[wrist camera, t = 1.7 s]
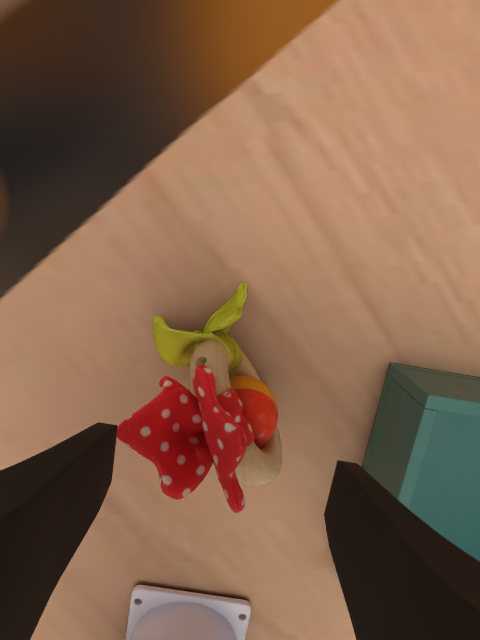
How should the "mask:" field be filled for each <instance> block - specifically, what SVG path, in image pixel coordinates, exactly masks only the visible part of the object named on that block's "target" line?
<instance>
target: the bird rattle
mask: <svg viewBox="0 0 480 640" xmlns="http://www.w3.org/2000/svg"><path fill="white" fill-rule="evenodd" d="M247 290H248V287H247V283H246V282H243V283H241V284H240V285H239V287H238V288H237V291H236V294H234V295H233V296H232V297H231V298H230V299H229V300H228V301H227V302H226V303H225V304H224V305H223V306H222V307H221V308H220V309H218V310H217V311H216V312H215V313H214V314H213V315H212V316H211V317H210V319H209V320H208V322H207V324H206V326H205V328H204V331H203V332H201V331H199V330H196V331H193V332H188V331H181V330H174V329H170V328H169V327H168V326H167V323H166V320H165V318H164V317H162V316H155V317H154V319H153V326H154V332H155V334H154V342H155V348H156V350H157V352H158V354H159V355H160V357H161V358H162V360H164V361H165V362H166V363H168V364H170V365H171V366H172V367H180V366H184V365H188V364H190V391H191V392H190V391H189V390H187V389H186V388H185V387H184V386H183V385H182V384H180V383H179V382H177V381H175V380H174V379H172V378H170V377H167V376H164V377H163V378H162V379H161V380H160V382H159V384H160V386H161V387H162V392H161V393H160V394H159V395H158V396H157V397H156V398H154V399H153V400H151V401H150V402H149V403H148V404H146V405H145V406H143V407H142V408H141V409H139V410H138V411H136V412H135V413H133V414H132V415H130V416H129V417H128V418H127V419H125V420H124V421H123V422H122V423H121V424H120V425H119V426H118V428H117V436H116V437H117V438H118V439H119V440H121V441H122V442H124V443H125V444H126V445H127V446H129V447H130V448H132V449H133V450H135V451H136V452H138V453H139V454H140V455H142V456H143V457H145V458H147V459H148V460H150V461H152V462H153V463H154V465H155V466H156V467H157V470H158V472H159V482H160V485H161V489H162V491H163V493H164V494H165V495H167V496H169V497H171V498H173V499H182V498H184V497H186V496H187V495H189V494H190V493H191V492H192V491H194V490H195V489H196V488H197V486H198V485H199V484H200V483H201V482H202V481H203V479H204V478H205V476H206V475H207V473H208V471H209V470H210V468H211V466H212V464H213V462H214V465H215V468H216V473H217V476H218V479H219V481H220V483H221V485H222V488H223V491H224V494H225V497H226V499H227V502H228V504H229V506H230V508H231V509H232V510H233V511H234V512H235V513H238V512H240V511H242V510H243V508H244V506H245V500H244V495H243V492H242V489H241V488H240V485H239V483H241V484H244V485H246V486H252V487H255V486H261V485H264V484H266V483H268V482H270V481H271V480H273V479H274V478H275V477H276V476H277V475H278V474H279V471H280V468H281V462H282V449H281V441H280V435H279V430H278V426H277V419H278V412H277V404H276V401H275V398H274V396H273V394H272V392H271V391H270V389H269V388H268V387H267V386H266V385H265V384H264V383H263V382H262V381H261V379H260V377H259V375H258V373H257V372H256V370H255V368H254V367H253V365H252V363H251V362H250V360H249V359H248V358H247V356H246V355H245V354H244V352H243V351H242V350H241V348H240V346H239V345H238V343H237V342H236V341H235V340H234V338H232V337H231V336H229V335H226V333H227V332H228V331H229V330H230V329H231V327H232V324H234V323H235V322H236V321H238V320H239V319H240V317H241V315H242V311H241V310H242V307H243V304H244V302H245V300H246V295H247ZM238 482H239V483H238Z"/></svg>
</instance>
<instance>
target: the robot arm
mask: <svg viewBox="0 0 480 640" xmlns="http://www.w3.org/2000/svg"><path fill="white" fill-rule="evenodd" d="M117 427H118V426H117V425H111V424H105V423H97V424H95V425H93V426H91V427H89V428H87V429H85V430H83V431H81V432H80V433H78V434H76V435H74V436H72V437H70V438H69V439H67V440H65V441H63V442H61V443H59V444H57V445H55V446H54V447H52V448H50V449H48V450H45V451H43V452H41V453H39V454H37V455H35V456H33V457H31V458H29V459H27V460H24V461H22V462H20V463H18V464H15V465H13V466H11V467H8V468H6V469H3V470H1V471H0V640H30V639H31V637H32V634H33V632H34V630H35V628H36V626H37V624H38V622H39V619H40V617H41V615H42V613H43V611H44V609H45V607H46V604H47V602H48V600H49V598H50V596H51V594H52V592H53V590H54V588H55V587H56V585H57V583H58V581H59V579H60V577H61V576H62V574H63V572H64V570H65V569H66V567H67V565H68V564H69V562H70V560H71V558H72V557H73V555H74V553H75V552H76V550H77V548H78V547H79V545H80V543H81V541H82V540H83V538H84V536H85V535H86V533H87V531H88V529H89V528H90V526H91V524H92V522H93V521H94V519H95V517H96V515H97V514H98V512H99V510H100V508H101V505H102V503H103V501H104V498H105V496H106V494H107V491H108V489H109V486H110V484H111V481H112V472H113V463H114V454H115V445H116V436H117ZM324 517H325V523H326V530H327V536H328V542H329V547H330V550H331V554H332V557H333V561H334V564H335V568H336V571H337V574H338V578H339V581H340V584H341V588H342V591H343V594H344V598H345V601H346V604H347V608H348V611H349V614H350V618H351V621H352V625H353V628H354V632H355V636H356V640H480V561H478V560H477V559H475V558H474V557H472V556H471V555H469V554H467V553H466V552H465V551H463V550H462V549H460V548H459V547H457V546H456V545H455V544H453V543H452V542H450V541H449V540H447V539H446V538H445V537H443V536H442V535H441V534H439V533H438V532H437V531H435V530H434V529H433V528H431V527H430V526H429V525H428V524H426V523H425V522H424V521H423V520H421V519H420V518H419V517H418V516H416V515H415V514H414V513H413V512H412V511H410V510H409V509H408V508H407V507H406V506H405V505H403V504H402V503H401V502H400V501H399V500H398V499H397V498H395V497H394V496H393V495H392V494H391V493H390V492H389V491H388V490H386V489H385V488H384V487H383V486H382V485H381V484H380V483H379V482H378V481H376V480H375V479H374V478H373V477H372V476H371V475H370V474H369V473H368V472H366V471H365V470H364V469H363V468H362V467H360V466H359V465H358V464H356V463H351V462H345V461H337V465H336V469H335V473H334V477H333V481H332V485H331V489H330V493H329V497H328V501H327V505H326V509H325V513H324ZM139 599H140V600H139ZM250 614H251V604H250V602H248V601H247V600H242V599H235V598H228V597H222V596H215V595H208V594H201V593H194V592H188V591H181V590H174V589H167V588H160V587H154V586H147V585H136V586H135V587H134V588H133V591H132V595H131V602H130V610H129V618H128V625H127V633H126V640H245V637H246V633H247V628H248V623H249V619H250Z"/></svg>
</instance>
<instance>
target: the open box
mask: <svg viewBox="0 0 480 640" xmlns="http://www.w3.org/2000/svg"><path fill="white" fill-rule="evenodd" d="M362 468H363V469H364V470H365V471H366V472H368V473H369V474H370V475H371V476H372V477H373V478H374V479H375V480H376V481H378V482H379V483H380V484H381V485H382V486H383V487H384V488H385V489H386V490H388V491H389V492H390V493H391V494H392V495H393V496H394V497H395V498H397V499H398V500H399V501H400V502H401V503H402V504H403V505H405V506H406V507H407V508H408V509H409V510H410V511H412V512H413V513H414V514H415V515H416V516H418V517H419V518H420V519H421V520H423V521H424V522H425V523H426V524H428V525H429V526H430V527H431V528H433V529H434V530H435V531H437V532H438V533H439V534H441V535H442V536H443V537H445V538H446V539H447V540H449V541H450V542H452V543H453V544H455V545H456V546H457V547H459V548H460V549H462V550H463V551H465V552H466V553H467V554H469V555H471V556H472V557H474V558H475V559H477V560H478V561H480V377H474V376H468V375H462V374H456V373H450V372H444V371H438V370H432V369H426V368H420V367H414V366H408V365H402V364H396V363H390V365H389V369H388V372H387V376H386V380H385V384H384V387H383V391H382V395H381V399H380V402H379V406H378V410H377V414H376V418H375V421H374V425H373V429H372V433H371V436H370V440H369V444H368V448H367V452H366V455H365V459H364V463H363V467H362Z"/></svg>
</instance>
